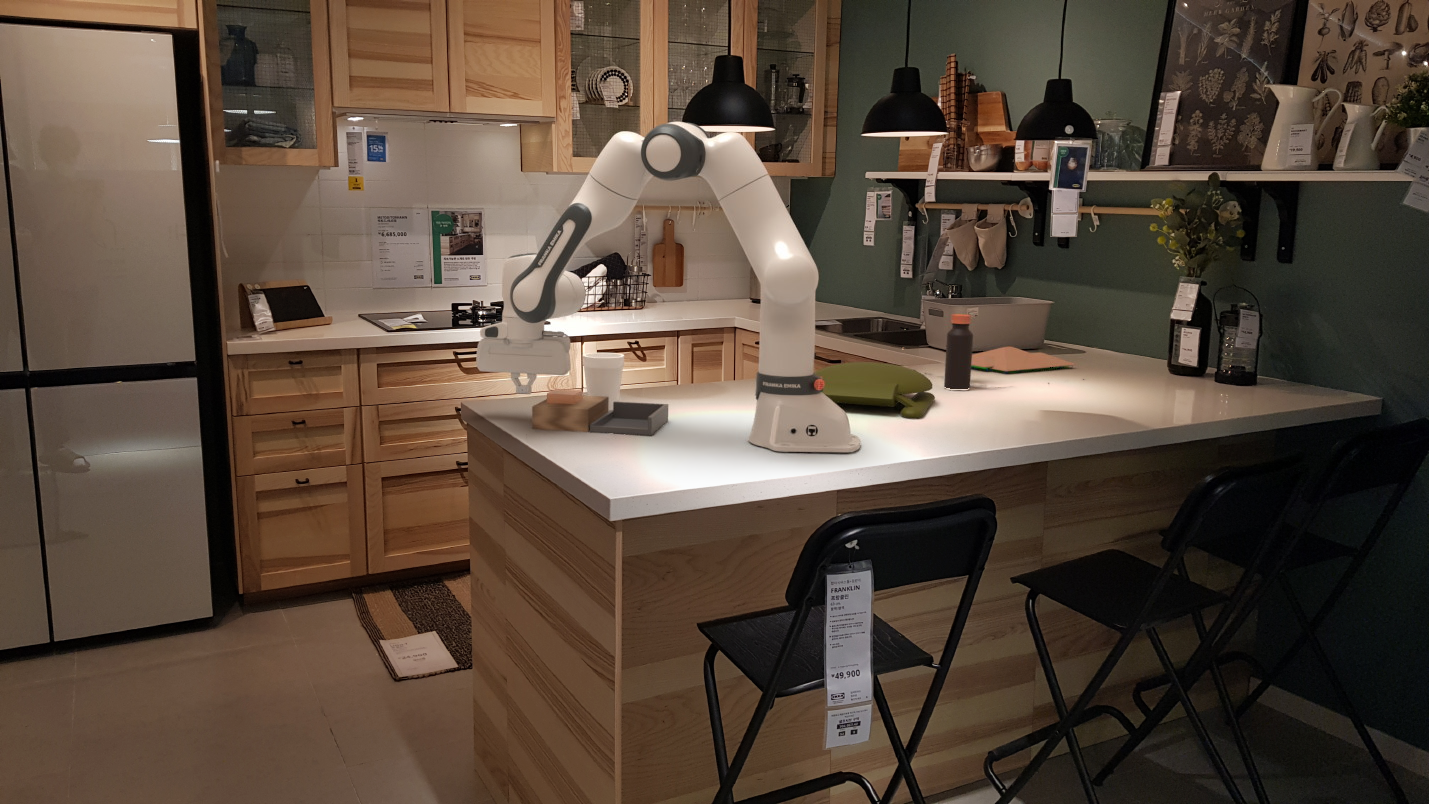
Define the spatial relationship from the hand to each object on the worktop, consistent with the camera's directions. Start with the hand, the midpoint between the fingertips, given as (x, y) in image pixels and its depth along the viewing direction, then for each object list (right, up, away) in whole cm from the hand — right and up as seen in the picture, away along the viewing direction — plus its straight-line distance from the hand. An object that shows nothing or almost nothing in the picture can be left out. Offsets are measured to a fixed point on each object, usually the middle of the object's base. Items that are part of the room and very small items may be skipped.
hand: (523, 393), depth 232 cm
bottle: (+106, +1, +56) cm, 120 cm away
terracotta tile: (+9, -2, -1) cm, 9 cm away
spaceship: (+79, -3, +34) cm, 86 cm away
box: (+23, -7, -3) cm, 24 cm away
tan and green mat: (+129, +7, +91) cm, 158 cm away
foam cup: (+16, -4, +15) cm, 22 cm away
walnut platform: (+10, -7, -1) cm, 12 cm away
